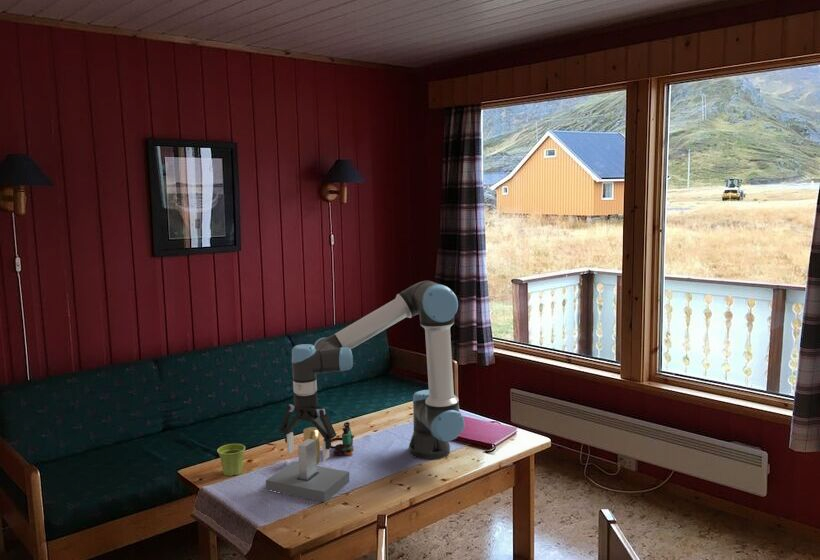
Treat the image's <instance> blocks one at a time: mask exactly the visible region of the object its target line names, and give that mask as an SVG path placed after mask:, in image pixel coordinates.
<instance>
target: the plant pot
mask: <svg viewBox="0 0 820 560" xmlns="http://www.w3.org/2000/svg"><path fill="white" fill-rule="evenodd" d="M245 450H246V446H245V445H244V444H241V443H228V444H224V445H222V446H220V447H218V448H217V451H216V453H218V455H219V457H220V463H221V466H222V467H221V468H222V473H223V474H224V475H225V476H227V477H231V476H234V475H235V476H237V475H239V474H241V473H242V471H243V461H244V453H245Z"/></svg>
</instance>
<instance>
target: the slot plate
mask: <svg viewBox="0 0 820 560" xmlns="http://www.w3.org/2000/svg"><path fill="white" fill-rule="evenodd" d="M349 483H350V471H347V470H341V469H336V468H331V467H330V468H329V467H324V466H318V465H317V475H316V476H315V477H313V478H312V479H311V480H309V481H308V482H307V481H302V480H299V461H298V462H297V461H292V462H290V463H289V464H288V465H286V466H285V467H283V468H282V469H280V470H279V471H277V472H276V473H274V474H273V475H271V476H269V477H268V478H267V479H266V480H265V490H266V489H267V490H272V491H276V492H275V493H277V492H280V493H279V494H282V493H285V494H284V495H286V494H289V495H288V496H291V495H294V496H293V497H296V496H297V498H303V499H306V500H312V501H315V502H316V501H317V502H319V503H321V502H322V503H326V502H327V501H329V499H331V498H332V497H333V496H334V495H336V494H337V493H338V492H339V491H340V490H342V489H343V488H344V487H346V485H347V484H349ZM267 490H266V491H267ZM272 491H271V492H272Z"/></svg>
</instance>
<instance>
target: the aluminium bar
mask: <svg viewBox="0 0 820 560" xmlns="http://www.w3.org/2000/svg"><path fill="white" fill-rule="evenodd" d="M297 450H298V453H297V454H298V456H297V457H298V463H299V480H302V481H307V482H308V481H309V480H311V479H312V478H313V477H315V476H316V475H317V466H318V464H317V461H316V440H313V439H307V440H305V441H304V440H303V441H302V442H301V443H299V444H298V445H297Z"/></svg>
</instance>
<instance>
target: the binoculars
mask: <svg viewBox="0 0 820 560" xmlns="http://www.w3.org/2000/svg"><path fill="white" fill-rule="evenodd" d="M343 426H344V427H343V428H341V429H342V431H343V432H342V434H341V437H334V438H332V439H331V443H332V442H335V441H342V443H338V444H336V445H335V446H334V445H331V448H330V449H331V450H333V451H332V454H333V456H339V455H342V454H344V455H347V456H353V451H354V450H355V448H354V445H353V444H354V442H353V441H354V439H353V438H355V436H354V434H352V429H351V427H350V422H348V421H347V422H344V423H343Z"/></svg>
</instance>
